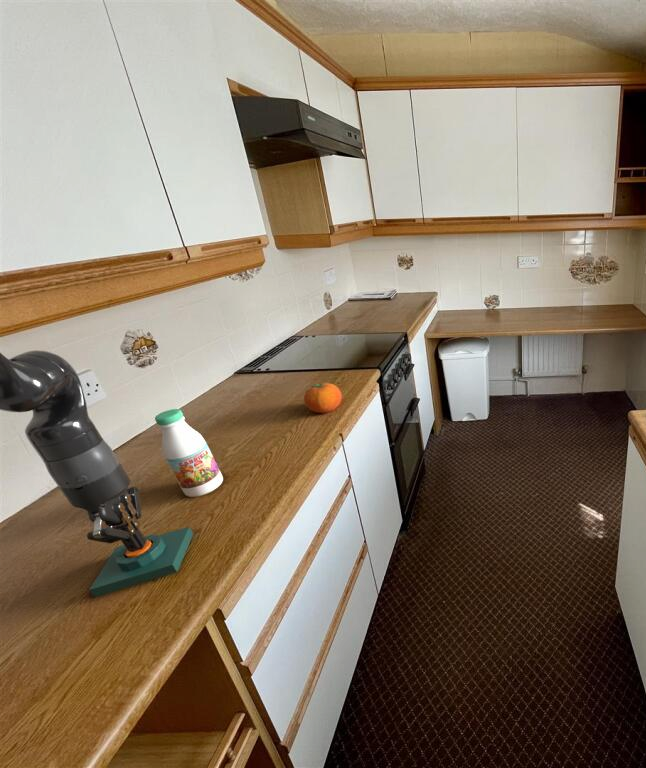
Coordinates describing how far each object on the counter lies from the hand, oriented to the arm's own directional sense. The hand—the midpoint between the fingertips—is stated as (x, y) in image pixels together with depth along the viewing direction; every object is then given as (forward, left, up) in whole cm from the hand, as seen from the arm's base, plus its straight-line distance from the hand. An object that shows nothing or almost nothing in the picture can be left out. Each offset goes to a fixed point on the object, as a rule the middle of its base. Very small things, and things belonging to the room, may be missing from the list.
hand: (138, 547), depth 74 cm
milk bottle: (+4, +22, -4) cm, 23 cm away
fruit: (+30, +49, -4) cm, 58 cm away
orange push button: (0, 0, -2) cm, 2 cm away
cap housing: (0, 0, -4) cm, 4 cm away
